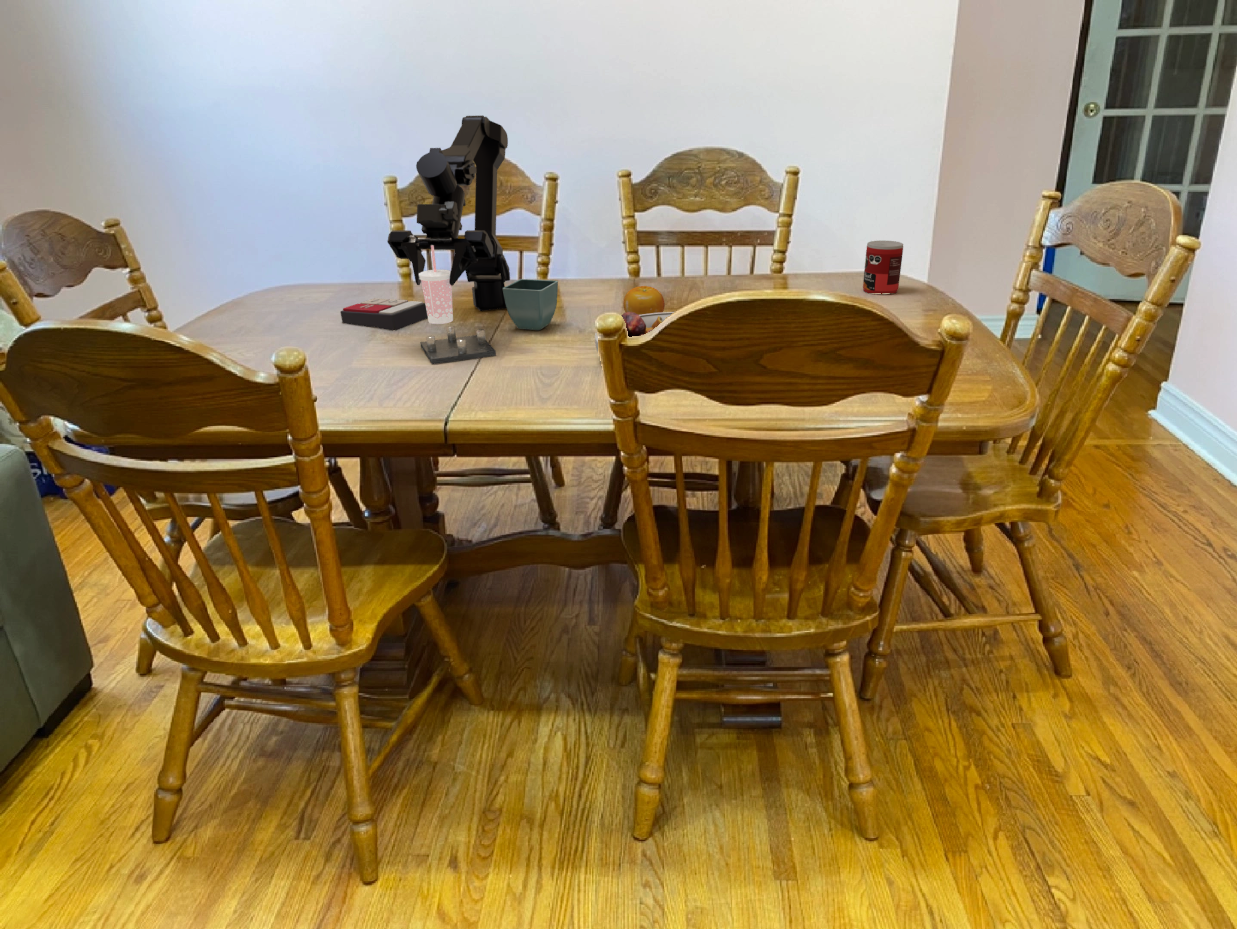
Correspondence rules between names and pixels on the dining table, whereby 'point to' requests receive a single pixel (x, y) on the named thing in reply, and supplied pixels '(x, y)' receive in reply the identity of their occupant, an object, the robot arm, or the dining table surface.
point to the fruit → (644, 300)
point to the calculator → (385, 313)
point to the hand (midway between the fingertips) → (434, 284)
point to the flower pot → (531, 302)
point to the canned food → (882, 266)
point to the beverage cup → (437, 294)
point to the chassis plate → (457, 347)
